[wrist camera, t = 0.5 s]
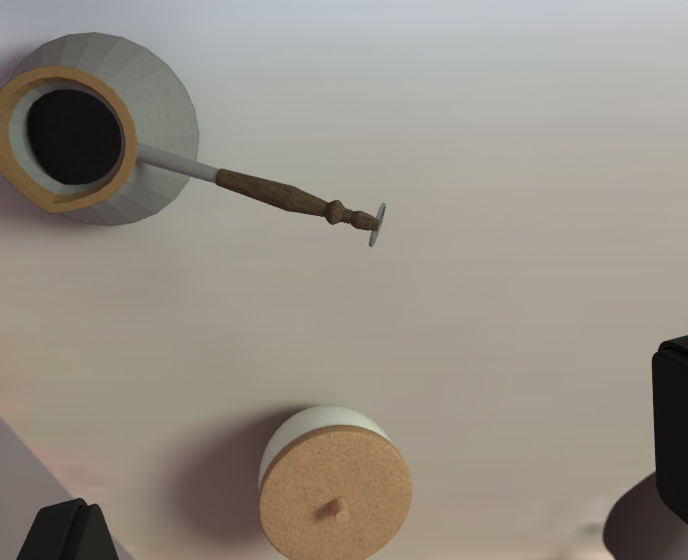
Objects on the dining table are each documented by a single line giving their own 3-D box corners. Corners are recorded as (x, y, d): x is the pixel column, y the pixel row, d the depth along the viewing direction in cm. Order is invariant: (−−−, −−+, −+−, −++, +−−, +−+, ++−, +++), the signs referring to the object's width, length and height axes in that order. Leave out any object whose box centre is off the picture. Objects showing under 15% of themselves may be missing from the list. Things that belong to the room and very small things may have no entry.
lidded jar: (356, 514, 51) (384, 598, 42) (233, 487, 48) (236, 570, 40) (404, 402, 49) (444, 465, 41) (280, 366, 47) (294, 426, 38)
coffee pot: (1, 194, 40) (-121, 238, 25) (31, 12, 37) (-83, -50, 23) (314, 268, 45) (358, 339, 31) (358, 113, 43) (426, 113, 29)
